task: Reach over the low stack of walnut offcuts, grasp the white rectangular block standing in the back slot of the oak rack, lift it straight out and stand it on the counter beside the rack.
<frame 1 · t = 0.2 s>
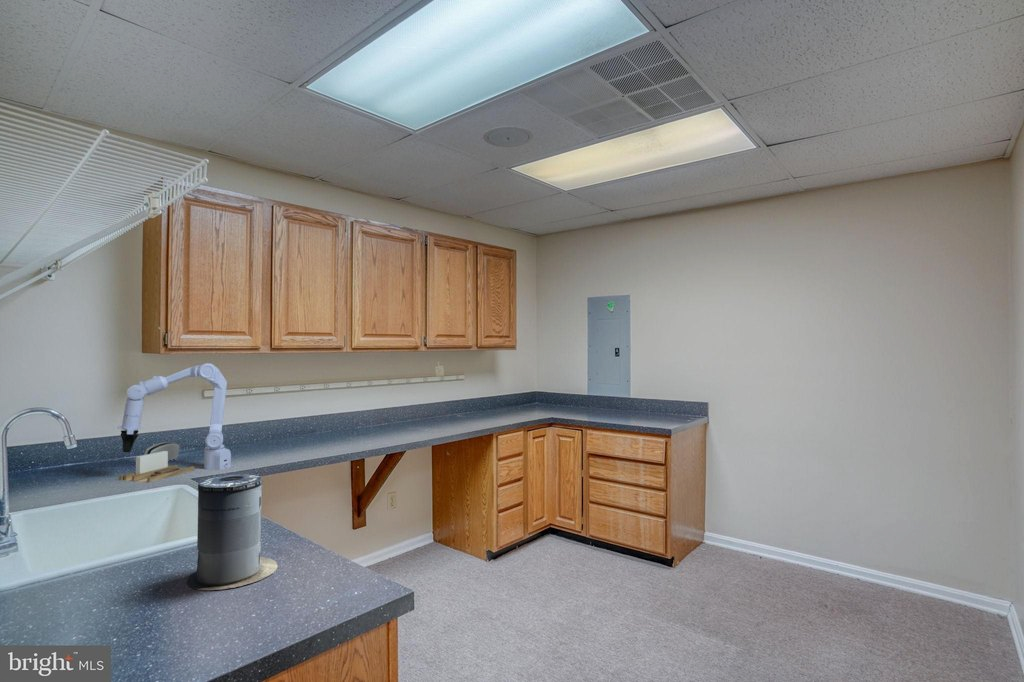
hand: (126, 450, 202), 10 cm above the countertop, tool pointing down, fingers open, 7 cm apart
grey curved slab: (160, 463, 230), on the countertop
rack: (158, 477, 203), on the countertop
trash can: (233, 573, 115), on the countertop
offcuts: (165, 475, 202), point 1 cm above the countertop, touching rack
white rectangular block: (152, 474, 204), point 1 cm above the countertop, touching rack
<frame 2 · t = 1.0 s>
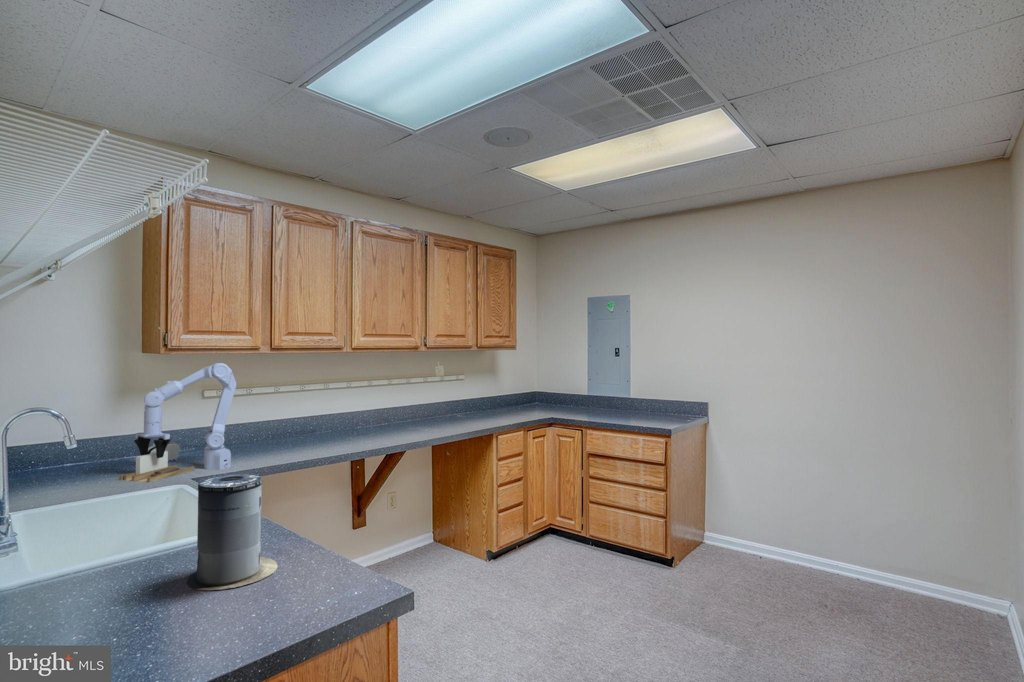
hand: (152, 457, 204), 8 cm above the countertop, tool pointing down, fingers open, 7 cm apart
nothing on the countertop moved.
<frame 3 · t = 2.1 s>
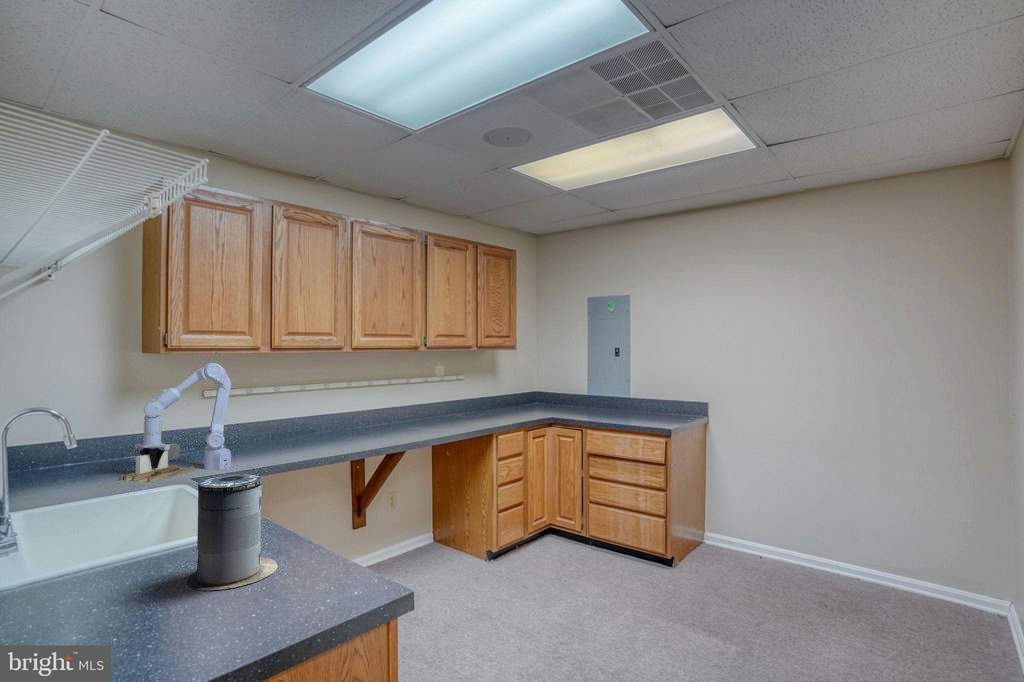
hand: (152, 467, 204), 3 cm above the countertop, tool pointing down, fingers closed on white rectangular block, 2 cm apart
white rectangular block: (152, 474, 204), point 1 cm above the countertop, touching gripper, rack
everything else where it was.
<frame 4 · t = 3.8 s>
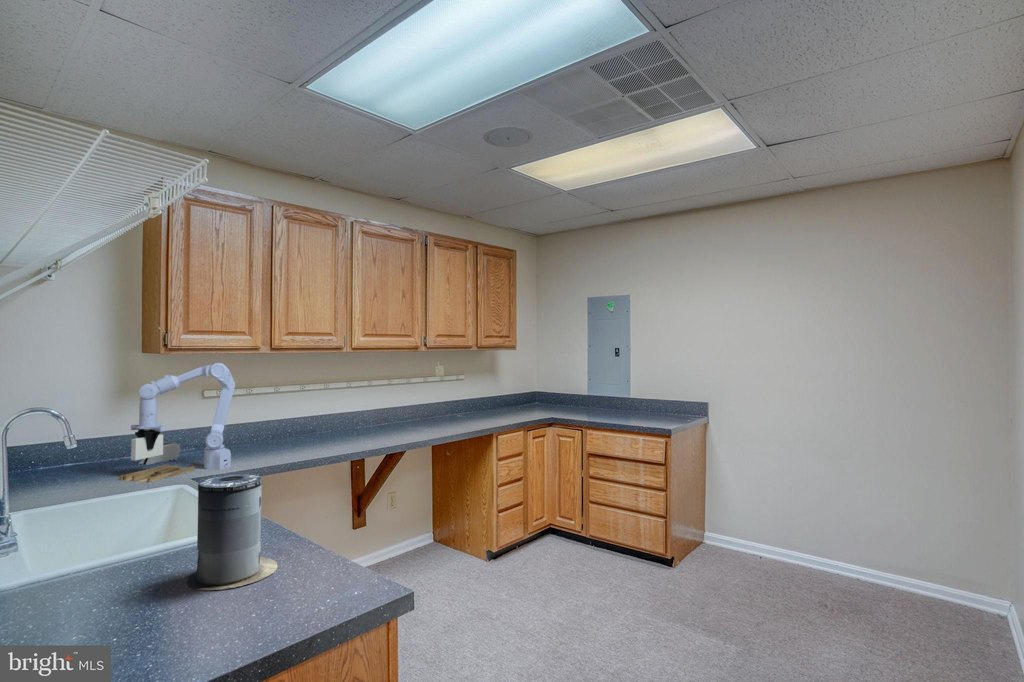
hand: (147, 449, 205), 10 cm above the countertop, tool pointing down, fingers closed on white rectangular block
white rectangular block: (147, 457, 205), point 7 cm above the countertop, touching gripper
everything else where it was.
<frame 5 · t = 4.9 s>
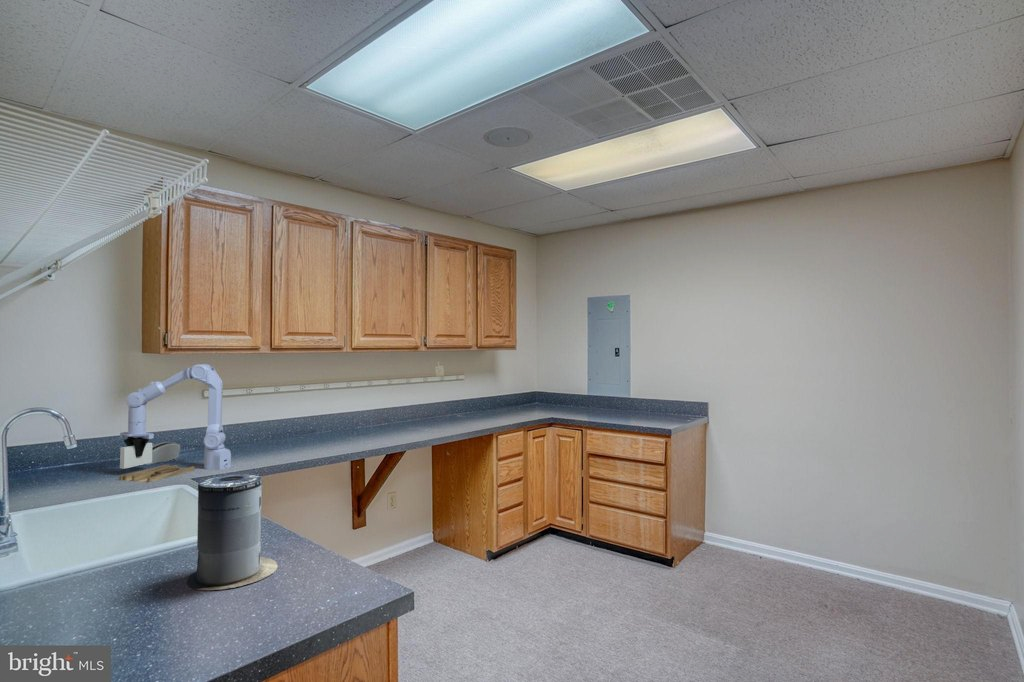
hand: (136, 456, 208), 7 cm above the countertop, tool pointing down, fingers closed on white rectangular block, 2 cm apart
white rectangular block: (136, 465, 208), point 3 cm above the countertop, touching gripper
everything else where it was.
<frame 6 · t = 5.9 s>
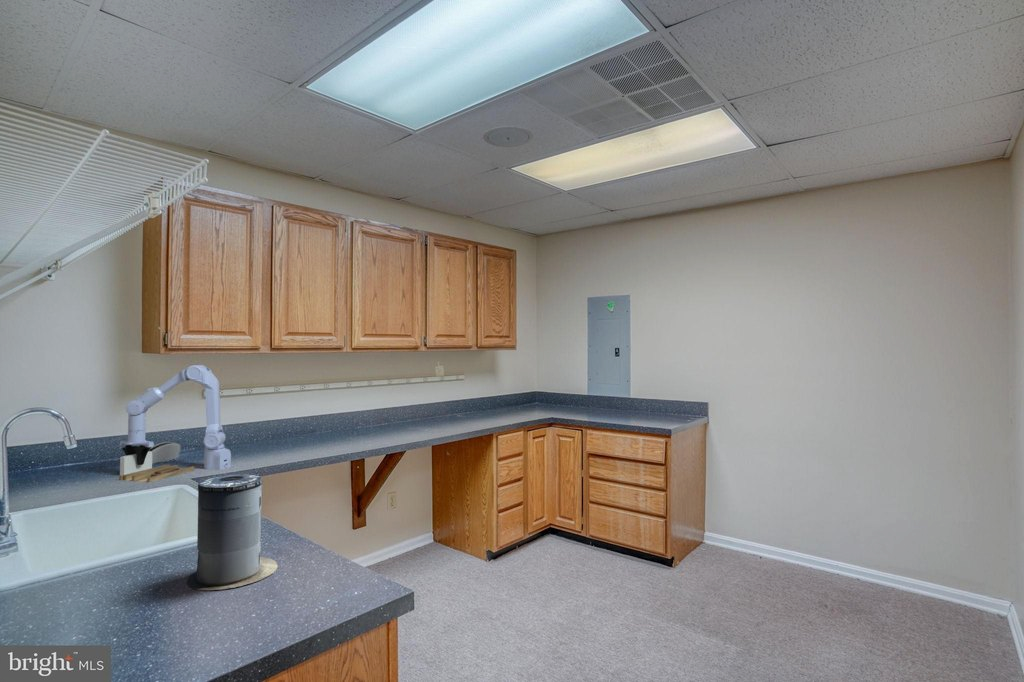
hand: (136, 464, 208), 4 cm above the countertop, tool pointing down, fingers open, 4 cm apart
white rectangular block: (136, 474, 208), on the countertop
everything else where it was.
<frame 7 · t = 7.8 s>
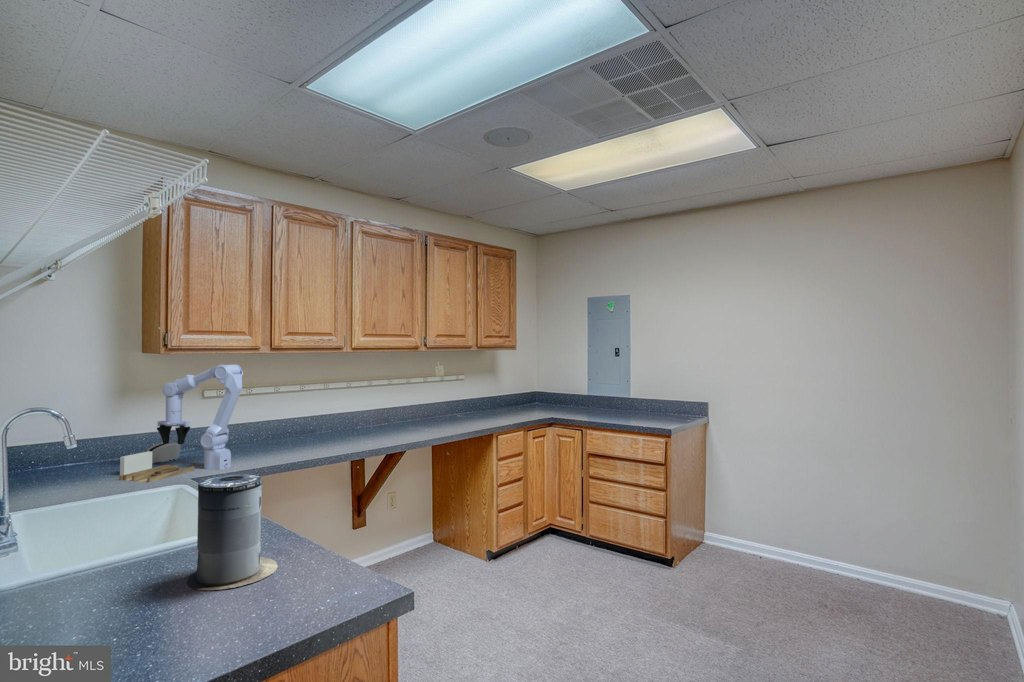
hand: (173, 443, 218), 10 cm above the countertop, tool pointing down, fingers open, 7 cm apart
nothing on the countertop moved.
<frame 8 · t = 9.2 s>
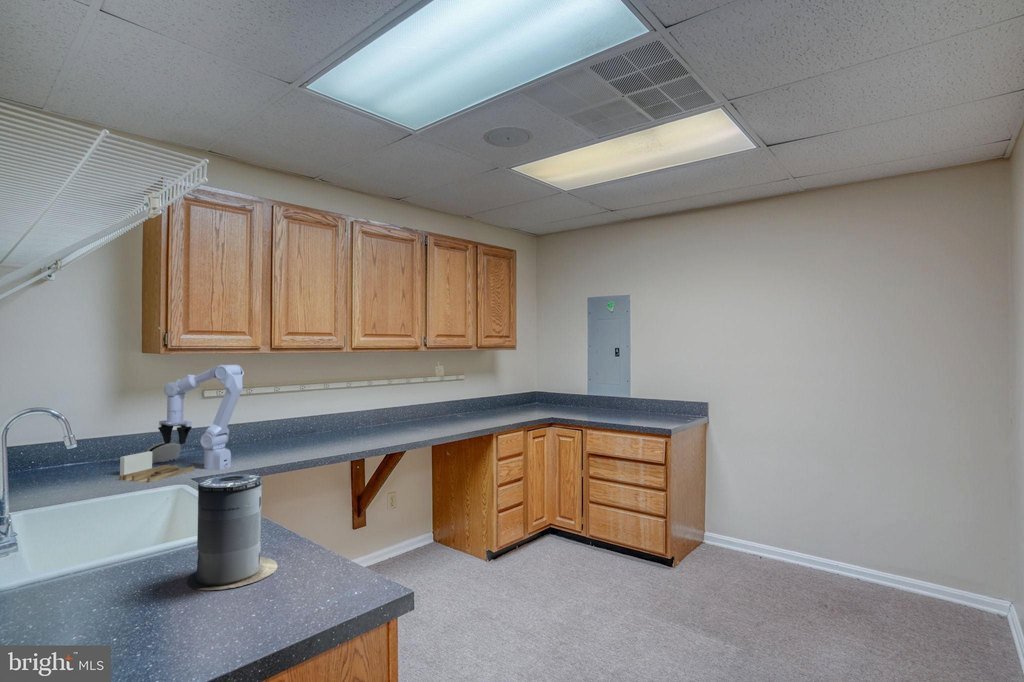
hand: (174, 443, 219), 10 cm above the countertop, tool pointing down, fingers open, 7 cm apart
nothing on the countertop moved.
at the end: white rectangular block inside the target area (0.1 cm from its centre), on the countertop; white rectangular block tilted 0°; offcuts moved 0.0 cm from its start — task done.
